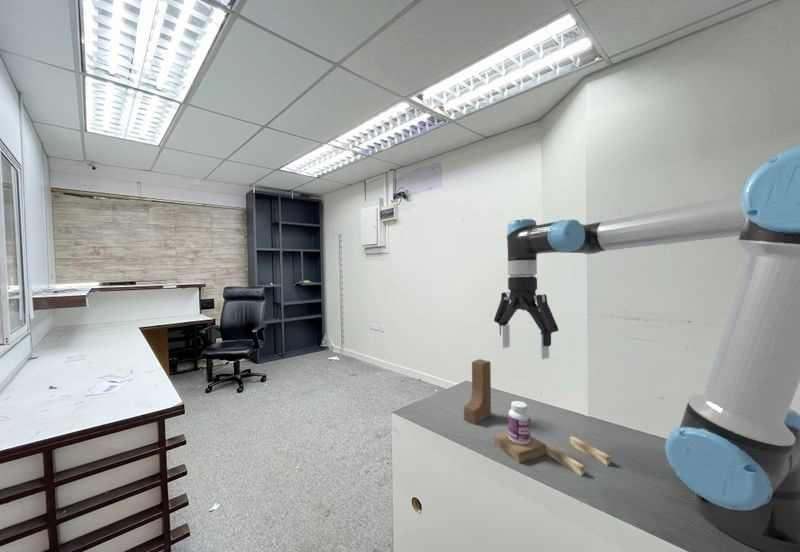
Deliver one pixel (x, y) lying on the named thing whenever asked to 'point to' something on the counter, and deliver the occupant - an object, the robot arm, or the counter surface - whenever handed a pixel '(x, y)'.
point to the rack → (571, 462)
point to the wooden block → (479, 393)
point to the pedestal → (520, 447)
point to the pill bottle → (519, 423)
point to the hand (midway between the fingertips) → (523, 352)
